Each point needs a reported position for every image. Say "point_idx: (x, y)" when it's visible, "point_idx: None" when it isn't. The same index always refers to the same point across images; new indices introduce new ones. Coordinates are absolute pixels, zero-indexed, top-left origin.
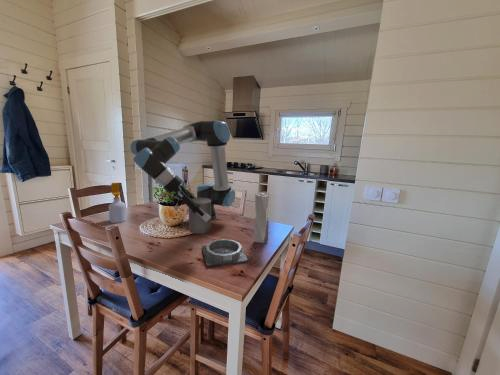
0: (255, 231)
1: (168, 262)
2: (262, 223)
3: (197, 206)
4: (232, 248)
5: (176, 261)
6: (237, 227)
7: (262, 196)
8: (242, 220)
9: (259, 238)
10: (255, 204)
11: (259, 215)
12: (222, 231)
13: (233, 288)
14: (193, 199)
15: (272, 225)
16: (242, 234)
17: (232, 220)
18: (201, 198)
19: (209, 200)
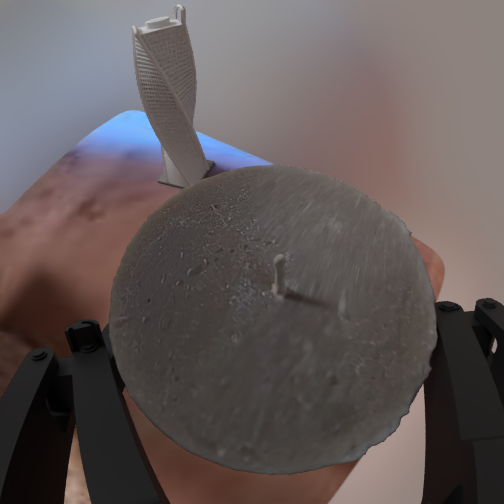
0: (179, 161)
1: (313, 489)
2: (192, 119)
3: (464, 314)
4: None
5: None
6: (66, 227)
7: (179, 23)
8: (30, 208)
9: (199, 167)
10: (160, 70)
11: (183, 99)
12: (76, 281)
13: (437, 277)
14: (236, 402)
15: (101, 139)
16: (123, 217)
17: (16, 237)
18: (169, 270)
19: (288, 177)
